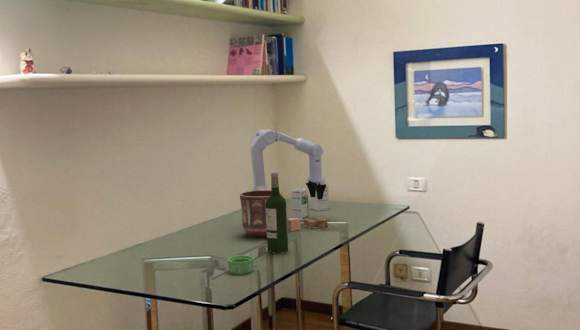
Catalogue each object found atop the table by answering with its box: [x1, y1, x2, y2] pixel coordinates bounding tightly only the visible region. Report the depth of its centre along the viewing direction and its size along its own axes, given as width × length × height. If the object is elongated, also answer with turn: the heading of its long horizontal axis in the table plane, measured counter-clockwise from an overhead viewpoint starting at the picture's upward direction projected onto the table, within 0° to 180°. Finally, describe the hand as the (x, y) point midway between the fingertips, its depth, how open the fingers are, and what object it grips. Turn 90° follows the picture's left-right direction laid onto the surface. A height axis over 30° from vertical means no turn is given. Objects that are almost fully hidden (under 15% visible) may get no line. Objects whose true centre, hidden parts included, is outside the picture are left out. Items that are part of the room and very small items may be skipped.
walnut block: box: [302, 216, 328, 228], centre depth 275 cm, size 8×8×4 cm
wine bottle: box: [265, 172, 289, 254], centre depth 233 cm, size 8×8×30 cm
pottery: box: [239, 189, 283, 239], centre depth 262 cm, size 18×18×18 cm
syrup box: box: [290, 187, 310, 220], centre depth 291 cm, size 6×6×14 cm
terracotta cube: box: [287, 217, 302, 232], centre depth 270 cm, size 4×4×5 cm
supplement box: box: [309, 184, 330, 212], centre depth 315 cm, size 7×7×13 cm
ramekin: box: [227, 254, 255, 275], centre depth 210 cm, size 9×9×4 cm
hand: (316, 198), depth 290 cm, fingers open, 7 cm apart
